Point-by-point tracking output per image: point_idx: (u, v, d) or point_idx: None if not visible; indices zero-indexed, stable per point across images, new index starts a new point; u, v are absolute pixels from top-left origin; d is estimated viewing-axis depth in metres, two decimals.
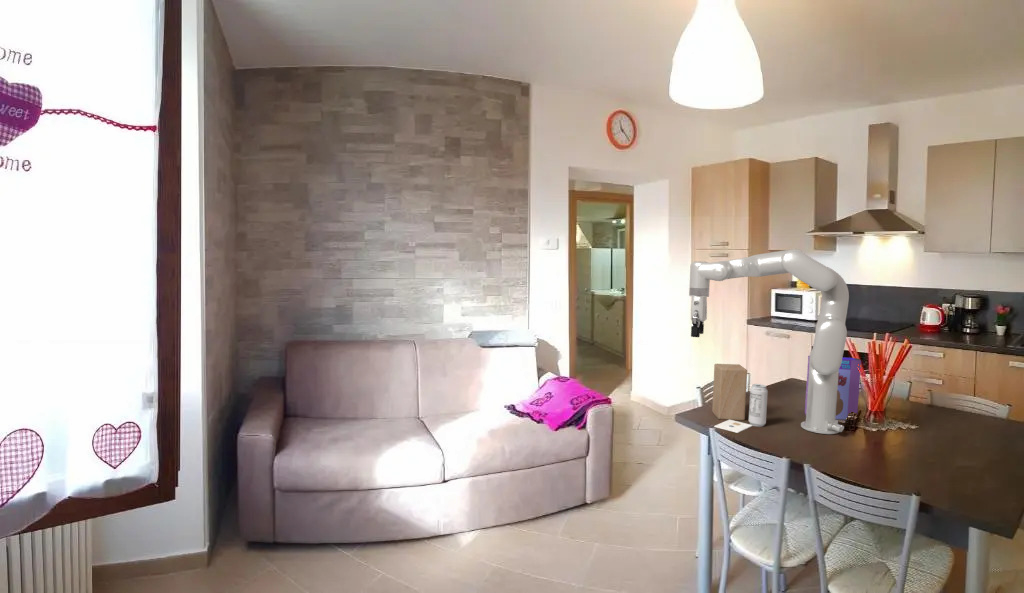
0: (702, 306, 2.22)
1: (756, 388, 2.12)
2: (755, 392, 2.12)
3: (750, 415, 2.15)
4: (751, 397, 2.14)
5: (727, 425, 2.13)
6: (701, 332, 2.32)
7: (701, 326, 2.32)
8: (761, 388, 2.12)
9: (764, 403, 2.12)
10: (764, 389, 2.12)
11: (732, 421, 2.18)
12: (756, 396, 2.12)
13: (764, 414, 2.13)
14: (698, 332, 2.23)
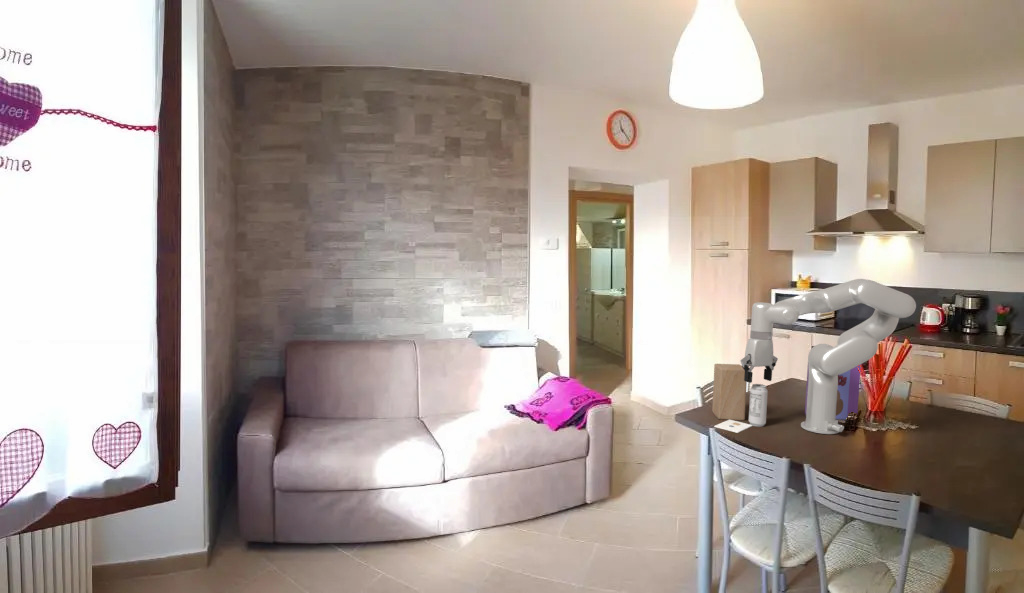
0: None
1: (756, 388, 2.12)
2: (755, 392, 2.12)
3: (750, 415, 2.15)
4: (751, 397, 2.14)
5: (727, 425, 2.13)
6: None
7: None
8: (761, 388, 2.12)
9: (764, 403, 2.12)
10: (764, 389, 2.12)
11: (732, 421, 2.18)
12: (756, 396, 2.12)
13: (764, 414, 2.13)
14: None
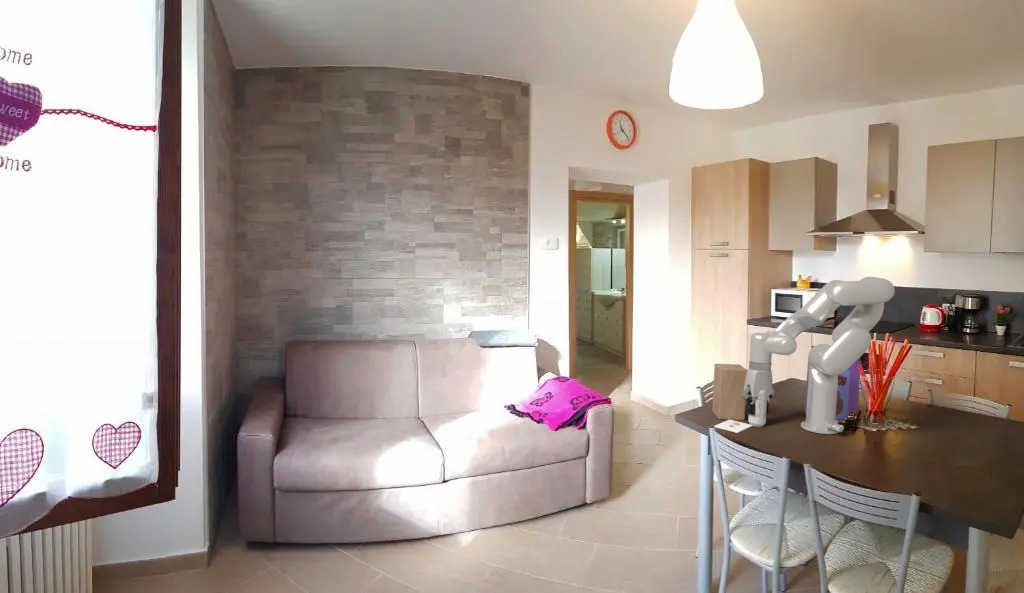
0: None
1: None
2: None
3: (750, 415, 2.15)
4: (751, 397, 2.14)
5: (727, 425, 2.13)
6: None
7: None
8: None
9: (764, 403, 2.12)
10: (764, 389, 2.12)
11: (732, 421, 2.18)
12: None
13: (764, 414, 2.12)
14: None
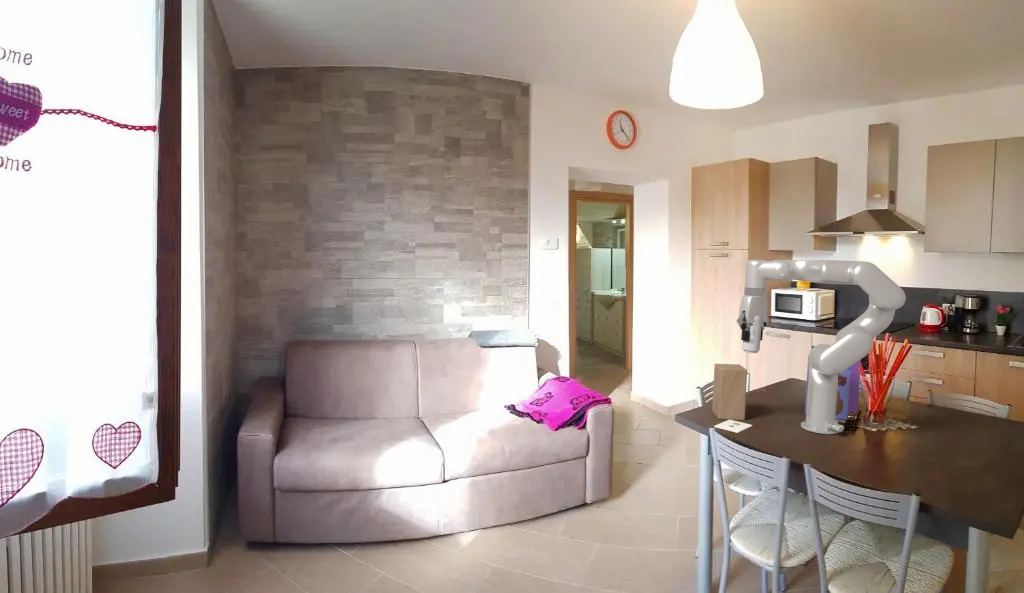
0: None
1: None
2: None
3: (744, 342, 2.15)
4: (745, 324, 2.14)
5: (727, 425, 2.13)
6: None
7: None
8: None
9: (758, 329, 2.12)
10: (758, 315, 2.12)
11: (732, 421, 2.18)
12: None
13: (758, 340, 2.13)
14: None
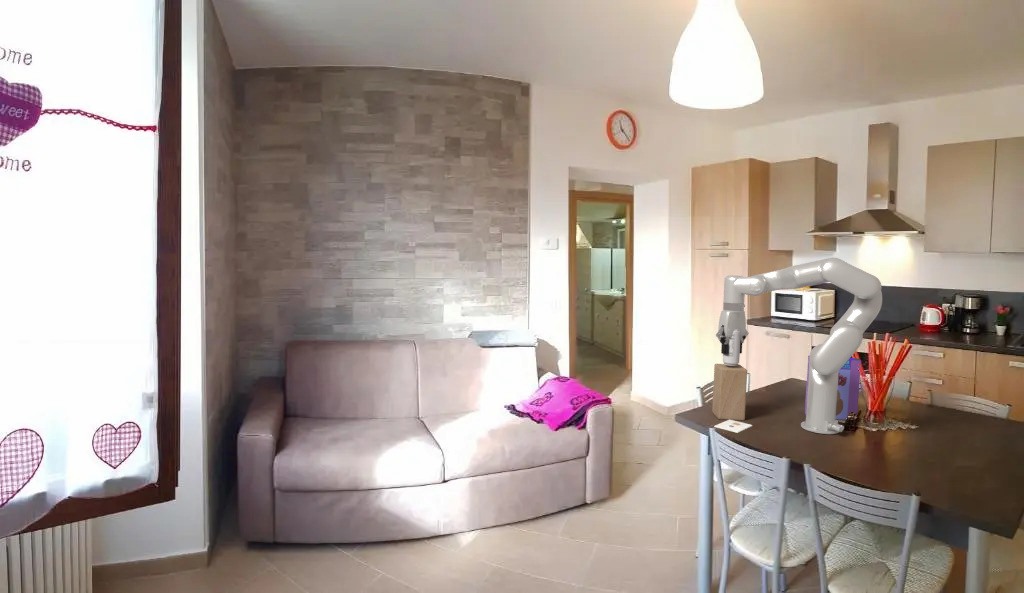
0: None
1: None
2: None
3: (724, 355, 2.22)
4: None
5: (727, 425, 2.13)
6: None
7: None
8: None
9: (737, 343, 2.19)
10: (737, 329, 2.19)
11: (732, 421, 2.18)
12: None
13: (737, 353, 2.20)
14: None
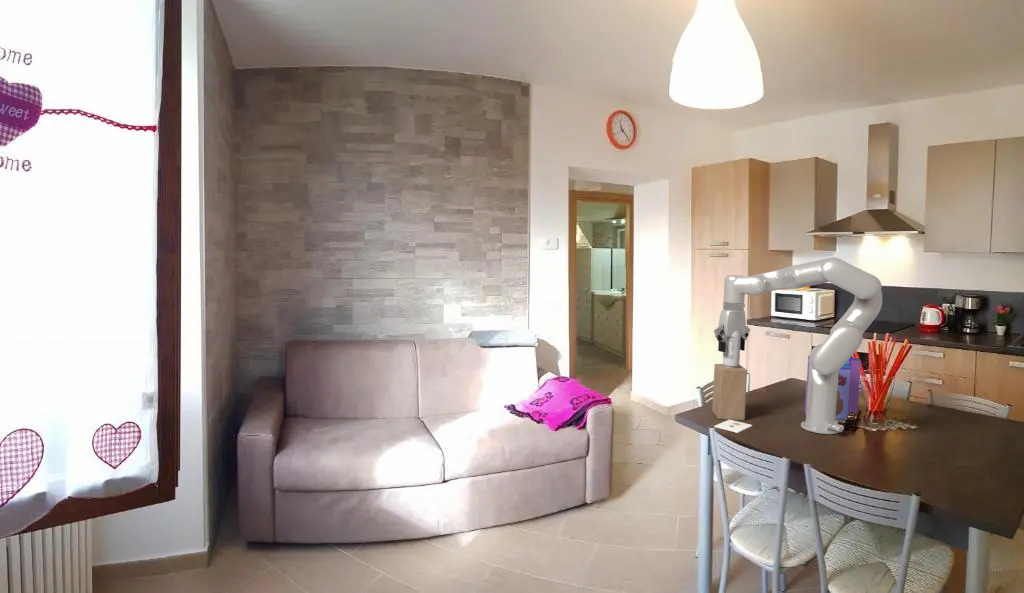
0: None
1: None
2: None
3: (724, 357, 2.22)
4: (725, 340, 2.21)
5: (727, 425, 2.13)
6: None
7: None
8: None
9: (737, 345, 2.19)
10: (737, 332, 2.19)
11: (732, 421, 2.18)
12: (729, 338, 2.20)
13: (737, 356, 2.20)
14: None
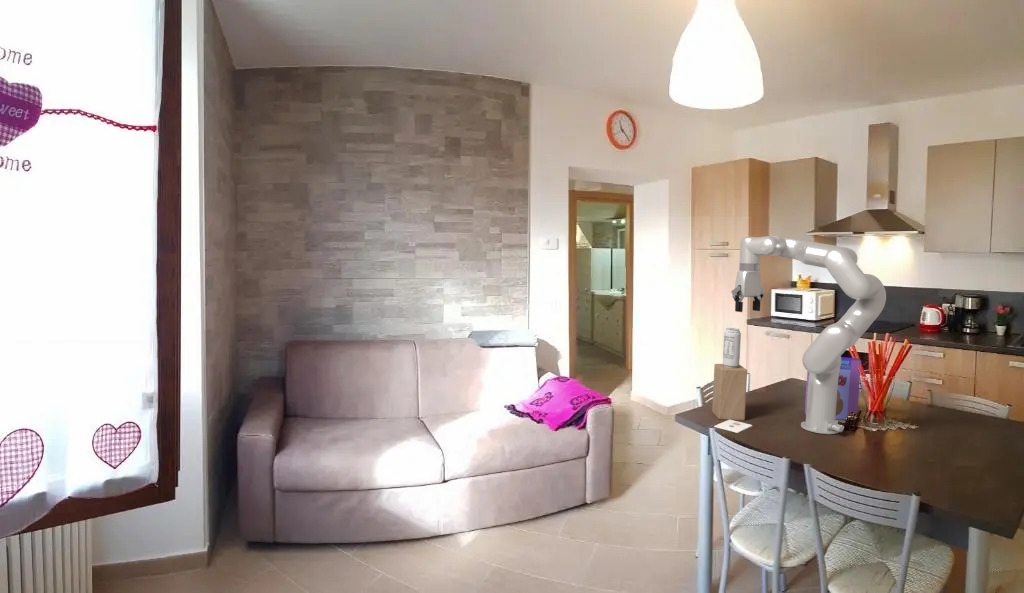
0: None
1: (729, 331, 2.20)
2: (728, 335, 2.20)
3: (724, 357, 2.22)
4: (725, 340, 2.21)
5: (727, 425, 2.13)
6: None
7: None
8: (734, 331, 2.19)
9: (737, 345, 2.19)
10: (737, 332, 2.19)
11: (732, 421, 2.18)
12: (729, 338, 2.20)
13: (737, 356, 2.20)
14: None
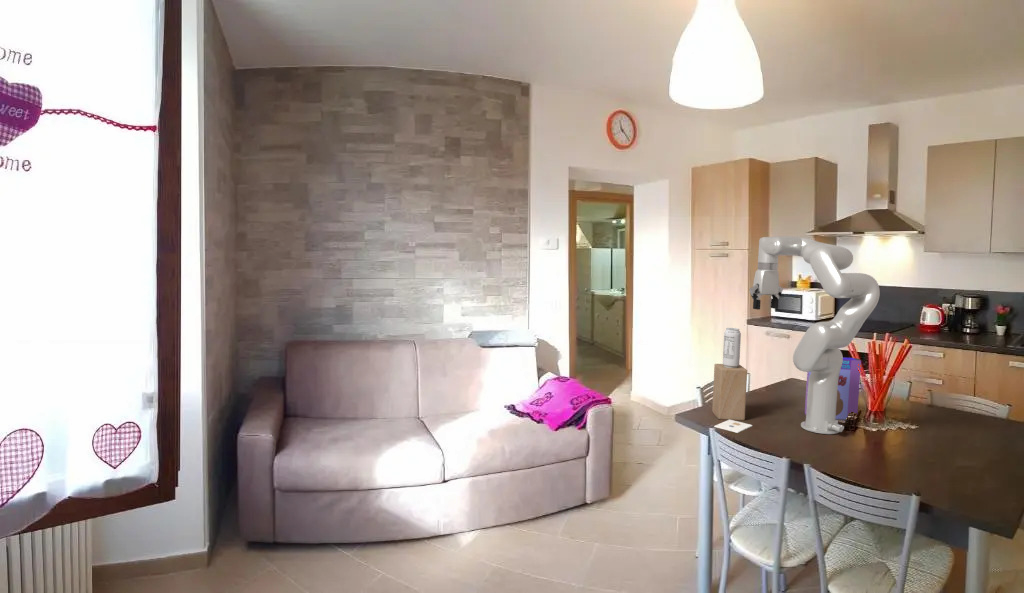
0: None
1: (729, 331, 2.20)
2: (728, 335, 2.20)
3: (724, 357, 2.22)
4: (725, 340, 2.21)
5: (727, 425, 2.13)
6: None
7: None
8: (734, 331, 2.19)
9: (737, 345, 2.19)
10: (737, 332, 2.19)
11: (732, 421, 2.18)
12: (729, 338, 2.20)
13: (737, 356, 2.20)
14: None
